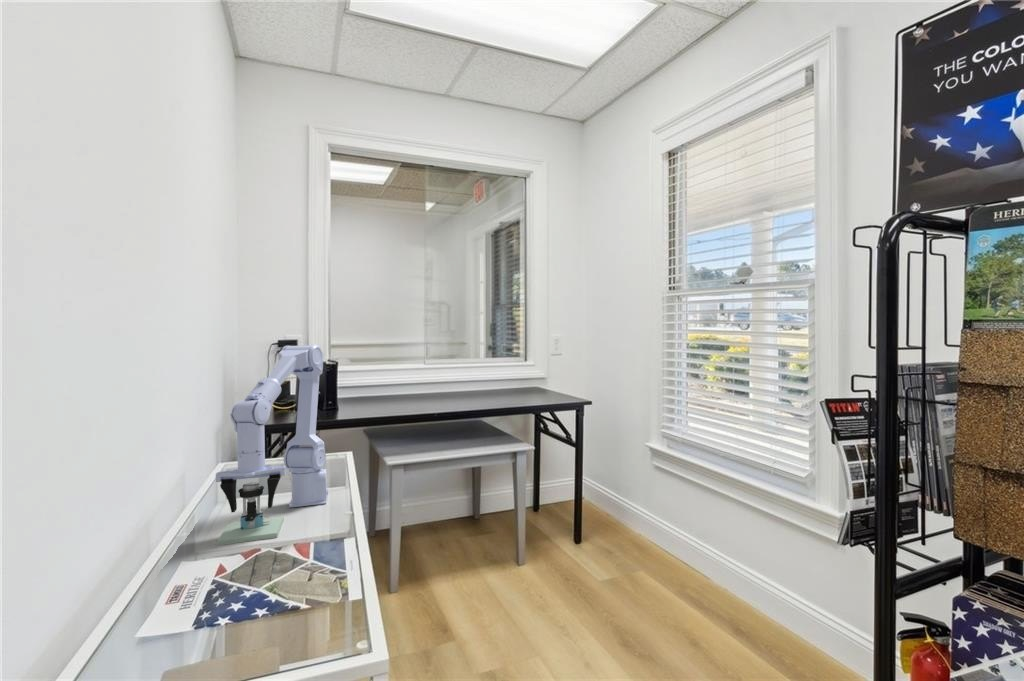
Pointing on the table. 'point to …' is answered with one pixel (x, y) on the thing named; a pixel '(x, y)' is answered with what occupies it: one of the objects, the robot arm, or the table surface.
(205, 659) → the table surface
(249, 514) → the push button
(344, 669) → the table surface
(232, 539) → the sage board
